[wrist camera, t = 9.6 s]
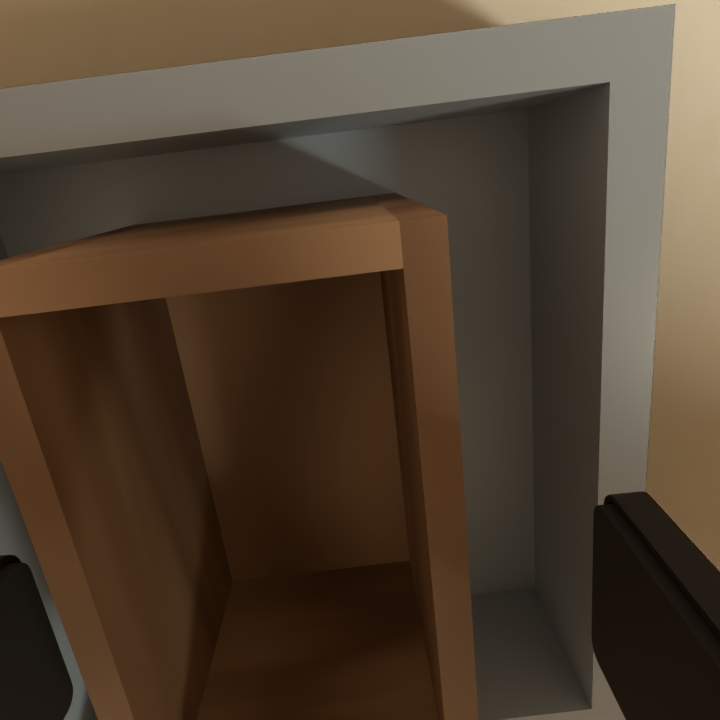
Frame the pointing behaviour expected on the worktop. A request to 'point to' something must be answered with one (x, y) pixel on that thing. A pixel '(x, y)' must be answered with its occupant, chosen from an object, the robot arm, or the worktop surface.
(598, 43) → the grey crate
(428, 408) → the walnut crate
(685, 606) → the robot arm
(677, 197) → the worktop surface
